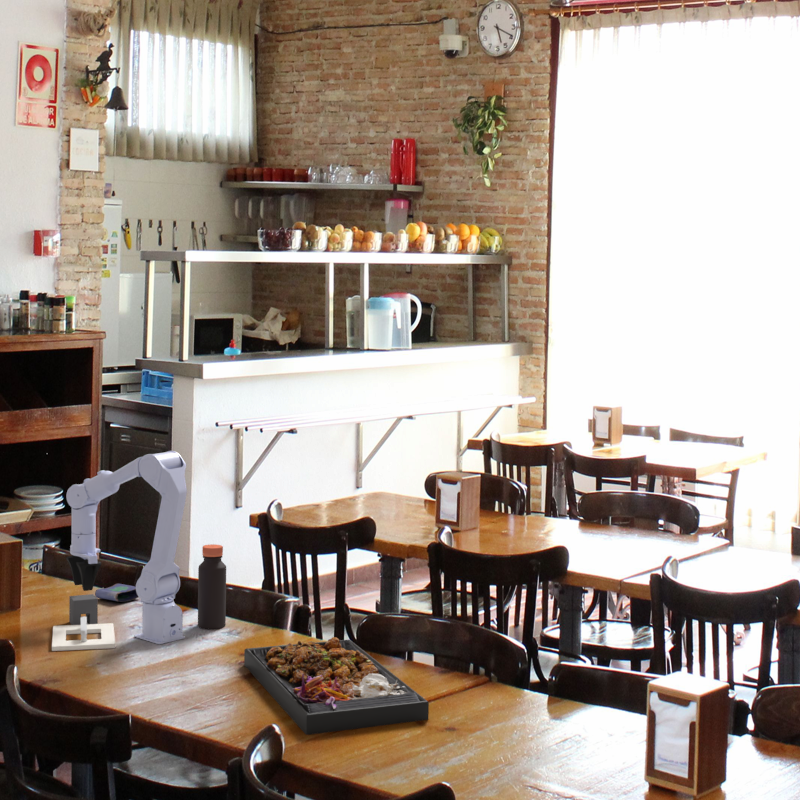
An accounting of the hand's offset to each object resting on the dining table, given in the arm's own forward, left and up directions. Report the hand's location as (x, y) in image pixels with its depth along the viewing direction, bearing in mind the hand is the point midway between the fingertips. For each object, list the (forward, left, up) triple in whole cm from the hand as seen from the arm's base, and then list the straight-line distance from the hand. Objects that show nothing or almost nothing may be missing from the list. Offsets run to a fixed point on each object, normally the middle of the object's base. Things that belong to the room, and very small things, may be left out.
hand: (83, 587), depth 294 cm
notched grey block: (0, 0, -9) cm, 9 cm away
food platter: (-79, -4, -10) cm, 80 cm away
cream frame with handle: (-11, +8, -9) cm, 16 cm away
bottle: (-24, -20, -9) cm, 33 cm away
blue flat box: (+9, -21, -10) cm, 25 cm away
